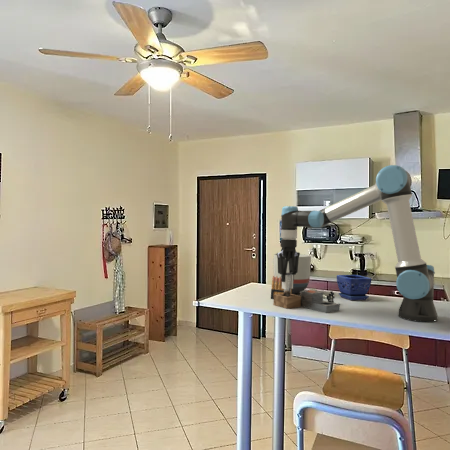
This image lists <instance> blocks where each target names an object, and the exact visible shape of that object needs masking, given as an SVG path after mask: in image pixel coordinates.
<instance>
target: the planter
mask: <svg viewBox="0 0 450 450" xmlns="http://www.w3.org/2000/svg"><path fill="white" fill-rule="evenodd" d="M311 259H312V255H309V254H302V253H300V256H299V261H298V272H297V273H296V275H294V281H293V289H291V291H292V294H294V295H298V294H300V291H305V290H307V288H308V286H309V283H310V278H311V264H312V263H311V262H312V260H311ZM286 273H289V262H288V265H287V272H286ZM273 276H274V279H275V281H276V276H277V277H278V284H279V277H281V274H279V273H278V258H277V253H274V254H273ZM281 285H282V281H281ZM281 288H282V286H281Z"/></svg>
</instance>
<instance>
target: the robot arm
mask: <svg viewBox="0 0 450 450" xmlns="http://www.w3.org/2000/svg"><path fill="white" fill-rule="evenodd" d="M412 182H413V181H412V176H411V174H410V173H409V172H408V171H407V170H405V168H403V167H402V166H400V165H395V164H390V165H386V166H384V167H382V168H381V169H380V170H379V171H378V172H377V174H376V177H375V183H374V184H373V185H371V186H369V187H367V188H365V189H362V190H361V191H359V192H355V193H354V194H352V195H350V196H348V197H345V198H344V199H341V200H340V201H337V202H334V203H333V204H330V205H329V206H327V207H324V208H323V209H320V210H299V208H298V207H297V206H294V205H293V206H291V205H289V206H288V205H287V206H286V205H285V206H283V207H282V208H281V216H280V217H281V218H280V219H281V223H280V224H281V228H280V238H281V239H280V247H281V248H280V251H279V252H276V254H277V258H278V273H279V274H281V281H282V289H287V275H286V272H287V265H288V262H289V273H291V289H293V281H294V275H296V273H297V272H298V261H299V256H300V254H301V253H300V252H299V251H297V250H296V248H297V246H298V240H297V239H298V227H299V228H301V227H302V228H325V227H327V226H328V225H329V224H331V223H333V222H335V221H337V220H339V219H340V220H341V219H342V218H344V217H346V216H349V215H352V214H353V213H355V212H358V211H360V210H362V209H365V208H367V207H369V206H371V205H375V204H377V203H379V202H380V201H381V202H383V204H385V205H386V208H387V214H388V219H389V223H390V230H391V233H392V238H393V243H394V247H395V249H394V250H395V253H396V258H397V263H396V265H395V266H394V269H395V274H396V281H395V282H396V283H395V284H396V290H397V291H398V293H399V294H400V295H402V300H401V303H400V306H399V308H398V312H397V314H398V317H399V318H401V319H404V318H405V319H404V320H407V319H409V320H408V321H413V320H416V321H415V322H420V321H434V320H437V321H438V312H437V310H436V309H437V308H436V306H435V303H434V302H435V301H434V291H435V289H434V285H435V284H434V282H435V274H436V272H435V267H434V266H433V265H431V264H427V262H426V261H425V260H423V259H422V257H421V251H420V247H419V243H418V238H417V233H416V227H415V224H414V222H415V221H414V218H413V212H412V209H411V208H412V207H411V204H410V199H411V198H412V196H413V193H412V188H411V186H412ZM434 322H435V321H434Z"/></svg>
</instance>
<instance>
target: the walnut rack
mask: <svg viewBox="0 0 450 450" xmlns="http://www.w3.org/2000/svg"><path fill="white" fill-rule="evenodd" d="M272 305H273V306H275V307H280V308H282V309H283V308H284V309H287V310H288V309H293V308H300V307H301V296H300V295H298V294H291V296H289V297H286V296H284V293H283V294H274V299H273V303H272Z"/></svg>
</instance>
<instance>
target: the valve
mask: <svg viewBox="0 0 450 450" xmlns="http://www.w3.org/2000/svg"><path fill="white" fill-rule="evenodd" d="M309 290H315V291H318V289H317V288H313V287H312V288H309ZM334 295H335V292H333V291H332V290H330V292H329V293H328V295H325V294H323V300H326V301H328V302H332V303H335V302H334V301H335V300H334V299H335V296H334Z"/></svg>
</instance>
